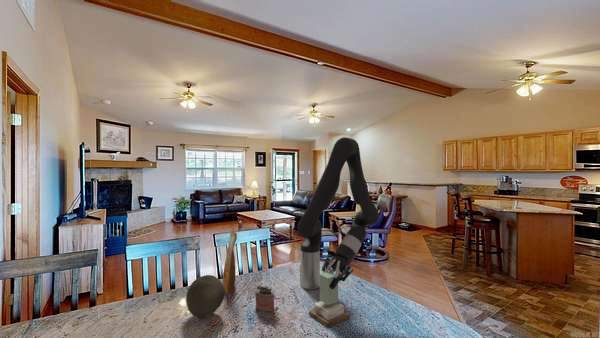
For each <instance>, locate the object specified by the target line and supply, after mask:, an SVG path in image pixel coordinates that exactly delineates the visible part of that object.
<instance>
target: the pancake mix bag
mask: <svg viewBox="0 0 600 338" xmlns="http://www.w3.org/2000/svg"><path fill="white" fill-rule="evenodd" d="M237 238H238V236H237V233H236V231H235V229H234V227H233V226H232V225H231V226H230V233H229V240H228V247H227V249H226V255H225V256H226V257H225V259H224V260H225V262H224V268H223V272H222V284H223V286H224V288H225V294H226V295H229V294H231V293H233V292H234V289H235V285H236V257H235V252H234V248H235V244H236V242H237Z"/></svg>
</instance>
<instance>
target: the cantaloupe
mask: <svg viewBox="0 0 600 338" xmlns="http://www.w3.org/2000/svg"><path fill="white" fill-rule="evenodd" d="M225 294H226V293H225V288H224V286H223V281H222V280H220V279H219V278H217V277H216V276H215V275H212V274H207V275H202V276H199V277H197V278H196V279H194V281H192V282H191V284H190V285H189V287H188V288H187V291H186V297H185V300H186V307H187V310H188V311H189V313H190V314H192V316H194V317H196V318H201V319H202V318H206V317H209V316H212V314H214V313H216V311H217V310H218V309H219V308H220V306H221V305H222V303H223V301H224V299H225V296H226V295H225Z"/></svg>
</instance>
